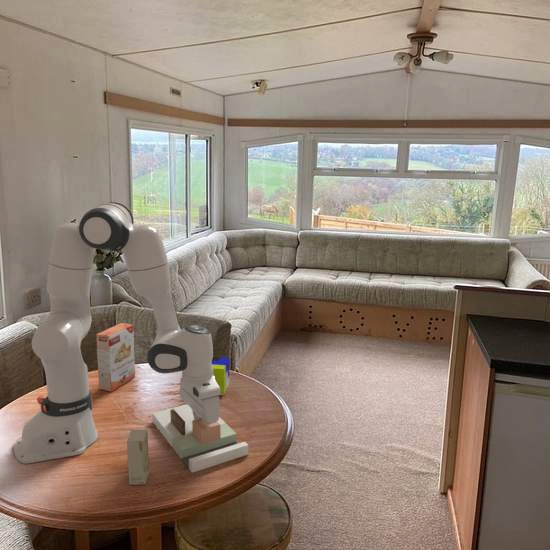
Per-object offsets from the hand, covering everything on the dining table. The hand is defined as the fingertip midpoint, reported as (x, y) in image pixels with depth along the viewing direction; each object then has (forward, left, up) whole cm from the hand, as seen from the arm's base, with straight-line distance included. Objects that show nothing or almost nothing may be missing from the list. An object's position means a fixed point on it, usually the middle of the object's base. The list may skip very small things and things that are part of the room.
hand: (198, 423), depth 154 cm
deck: (0, +1, -5) cm, 5 cm away
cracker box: (-10, +49, -5) cm, 50 cm away
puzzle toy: (+18, +28, -5) cm, 34 cm away
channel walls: (0, +4, -2) cm, 4 cm away
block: (0, -5, -2) cm, 5 cm away
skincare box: (-21, -10, -5) cm, 24 cm away
